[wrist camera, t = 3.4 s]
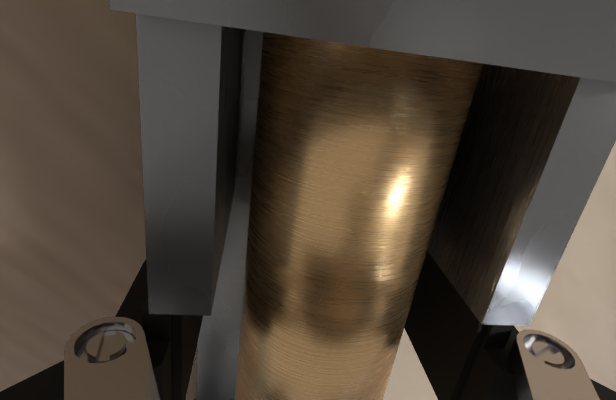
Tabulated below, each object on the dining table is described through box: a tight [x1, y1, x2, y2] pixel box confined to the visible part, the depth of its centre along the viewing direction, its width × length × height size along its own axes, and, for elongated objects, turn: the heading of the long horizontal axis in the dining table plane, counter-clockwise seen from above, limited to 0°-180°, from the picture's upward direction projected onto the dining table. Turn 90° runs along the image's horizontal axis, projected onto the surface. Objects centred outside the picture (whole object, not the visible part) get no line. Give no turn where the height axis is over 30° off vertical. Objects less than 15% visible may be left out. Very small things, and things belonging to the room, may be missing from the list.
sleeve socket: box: [110, 0, 616, 400], centre depth 11 cm, size 23×7×7 cm, turn 173°
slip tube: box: [235, 32, 483, 400], centre depth 9 cm, size 15×4×4 cm, turn 173°
